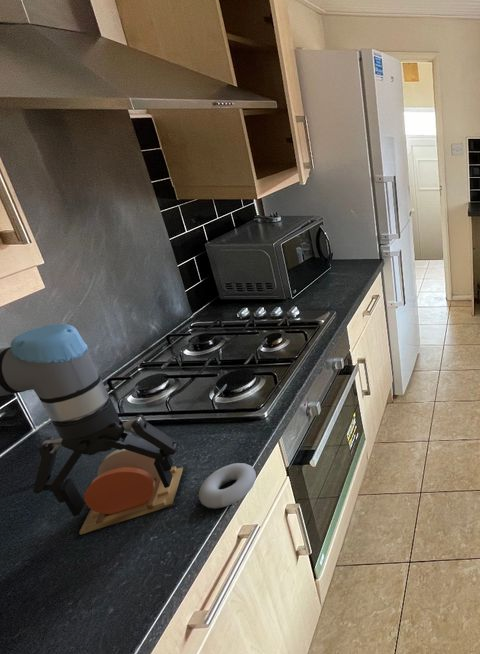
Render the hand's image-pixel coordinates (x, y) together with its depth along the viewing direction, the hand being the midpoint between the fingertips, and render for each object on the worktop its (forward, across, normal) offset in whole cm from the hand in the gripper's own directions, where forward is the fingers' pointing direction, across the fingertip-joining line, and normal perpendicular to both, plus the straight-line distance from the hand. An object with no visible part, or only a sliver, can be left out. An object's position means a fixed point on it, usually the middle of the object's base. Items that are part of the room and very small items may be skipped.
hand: (125, 495), depth 81 cm
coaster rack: (+4, 0, -3) cm, 5 cm away
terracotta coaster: (+4, 0, 0) cm, 4 cm away
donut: (+4, -17, +3) cm, 18 cm away
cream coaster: (+4, 0, -6) cm, 7 cm away
